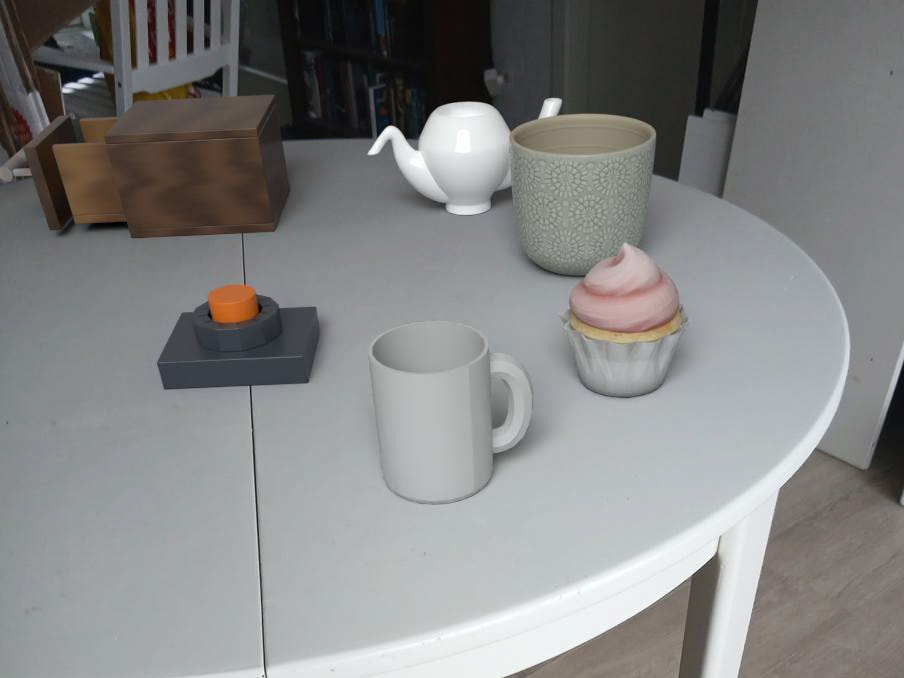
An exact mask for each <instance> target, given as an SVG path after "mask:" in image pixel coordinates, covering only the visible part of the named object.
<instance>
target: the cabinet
mask: <svg viewBox="0 0 904 678" xmlns="http://www.w3.org/2000/svg"><path fill="white" fill-rule="evenodd" d="M276 100H277V99H276V95H275V94H257V95H255V94H254V95H237V96H233V95H232V96H214V97H213V96H212V97H193V98H173V99H171V98H170V99H152V100H151V99H150V100H135V102H134V103H133V104H132V105H131V106H130V107H129V108H128V109H127V110H126V111H125V112H124V113H123V114H122V115H121V116H120V117H121V118H120V119H119V120H118V121H117V122H116V123H115V124H114V125H113V126H112V127H111V128H110V129H109V130H108V131H107V132H106V133H105V134H104V139H105V143H106V147H107V150H108V154H109V158H110V161H111V165H112V169H113V173H114V176H115V180H116V184H117V187H118V191H119V195H120V198H121V202H122V206H123V209H124V213H125V217H126V221H125V222H126V225H127V227H128V232H129V235H130V238H131V239H136V238H138V239H139V238H158V237H159V238H161V237H180V236H181V237H182V236H203V235H221V234H223V235H224V234H245V233H246V234H247V233H248V234H249V233H267V232H275V231H276V228H277V226H278V224H279V223H278V222H279V221H280V218H281V216H282V213H283V210H284V208H285V206H286V203H287V200H288V198H289V195H290V192H291V187H290V181H289V175H288V168H287V161H286V156H285V149H284V144H283V143H284V142H283V137H282V131H281V125H280V119H279V118H280V117H279V112H278V106H277V101H276Z"/></svg>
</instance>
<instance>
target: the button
mask: <svg viewBox="0 0 904 678" xmlns="http://www.w3.org/2000/svg"><path fill="white" fill-rule="evenodd" d="M256 294H257V292H256V289H255V288H254V287H253V286H251V285H246V284H228V285H223V286H219V287H217V288H214V289H212V290H211V291H210V292H209V293H208V294H207V301H208V302H209V307H210V311H211V315H212V319H213V321H217V322H221V323H229V322H241V321H244V320H248V319H251V318H253V317H255V316H256V315H258V314H259V307H258V302H257V297H256Z"/></svg>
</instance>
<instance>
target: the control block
mask: <svg viewBox="0 0 904 678" xmlns="http://www.w3.org/2000/svg"><path fill="white" fill-rule="evenodd" d="M256 297H257V302H258V307H259V314H258V315H256V316H255V317H253V318H251V319H248V320H244V321H241V322H229V323H221V322H217V321H213V319H212V315H211V311H210V307H209V302H208V300H207V301H205V302H204V303H202V304H200V305H199V306H196V307H195V308H194V311H185V312H181V313H180V316H179V317H178V319H177V322H176V324H175V325H174V328H173V329H172V331H171V334H170V336H169V337H168V340H167V341H166V343H165V345H164V347H163V349H162V351H161V353H160V354H159V357H158V359H157V361H156V365H157V369H158V372H159V376H160V380H161V383H162V386H163V390H172V389H195V388H218V387H219V388H220V387H239V386H240V387H241V386H266V385H286V384H307V383H308V382H309V379H310V375H311V369H312V366H313V362H314V358H315V354H316V349H317V345H318V341H319V337H320V333H321V329H320V328H321V327H320V323H319V316H318V315H319V314H318V310H317V306H297V307H296V306H295V307H280V305H279V304H278V303H277V302H276V300H274V299H273V298H272V297H271V296H267V295H263V294H257V293H256Z"/></svg>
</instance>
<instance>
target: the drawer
mask: <svg viewBox="0 0 904 678" xmlns="http://www.w3.org/2000/svg"><path fill="white" fill-rule="evenodd" d="M120 118H121V116H106V117H89V118H87V117H84V118H80V119H79V120H78V122H79V125H80V129H81V133H82V136H83V140H84V142H78V138H77V134H76V132H75V128H74V125H73V122H72V118H71V115H69V114H68V115H58V116H57V117H56V118H54V120H53V121H51V122H50V123H49V124H48V125H47V126H46V127H44V128H43V130H41V131H40V132H39V133H38V134H37V135H35V136H34V137H33V138H32V139H31V140H30V141H28V143H27V144H25V145H24V146H23V147H22V148H21V149H20V150H18V151H17V152H16V153H15V154H14V155H13V156H12V157H10V158H9V159H8V160H7V161H6V162H5V163H4V164H2V166H0V179H1V180H2V181H3V182H7V183H10V182H12V180H14V179H15V178H16V177H31V178H32V181H33V184H34V187H35V189H36V192H37V196H38V199H39V202H40V204H41V208H42V211H43V214H44V217H45V220H46V224H47V227H48V229H49V231H61V230H63V228H65V226H66V225H67V224H68V222H69V221H70V220H71V219H72V218H73V221H74V224H76V225H78V224H79V225H80V224H97V223H99V224H101V223H102V224H103V223H123V222H124V223H125V222H127V221H126V217H125V213H124V209H123V206H122V202H121V198H120V195H119V191H118V187H117V184H116V180H115V176H114V173H113V169H112V165H111V161H110V158H109V154H108V150H107V147H106V143H105V139H104V134H105V133H106V132H107V131H108V130H109V129H110V128H111V127H112V126H113V125H114V124H115V123H116V122H117V121H118V120H119V119H120ZM27 166H28V167H27Z"/></svg>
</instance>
